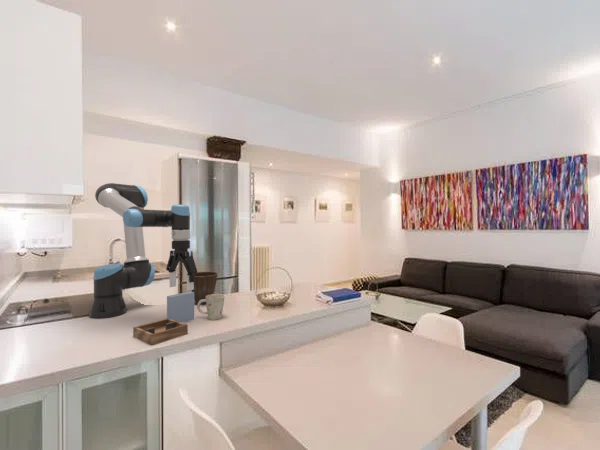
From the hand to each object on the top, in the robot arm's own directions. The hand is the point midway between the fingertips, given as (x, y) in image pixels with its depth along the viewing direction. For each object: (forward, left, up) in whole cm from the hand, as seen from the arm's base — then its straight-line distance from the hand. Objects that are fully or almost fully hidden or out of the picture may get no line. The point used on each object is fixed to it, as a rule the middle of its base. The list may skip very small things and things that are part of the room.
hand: (181, 288), depth 131 cm
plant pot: (-19, +25, -15) cm, 35 cm away
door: (0, 0, -15) cm, 15 cm away
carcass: (+9, -14, -15) cm, 22 cm away
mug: (+6, +11, -15) cm, 19 cm away
